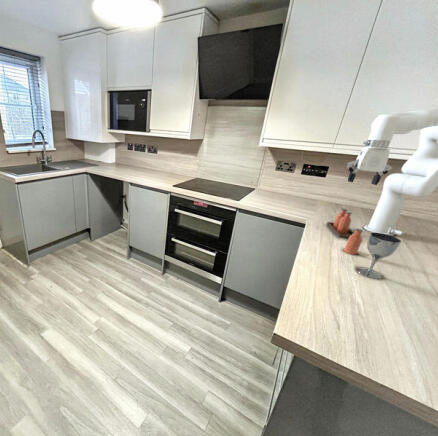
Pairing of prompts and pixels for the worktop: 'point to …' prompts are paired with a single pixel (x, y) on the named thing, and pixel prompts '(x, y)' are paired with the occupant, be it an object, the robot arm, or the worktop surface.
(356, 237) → the loose bottle
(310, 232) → the worktop surface
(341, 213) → the tray bottle
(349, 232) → the tray
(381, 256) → the wine glass
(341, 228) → the tray bottle
